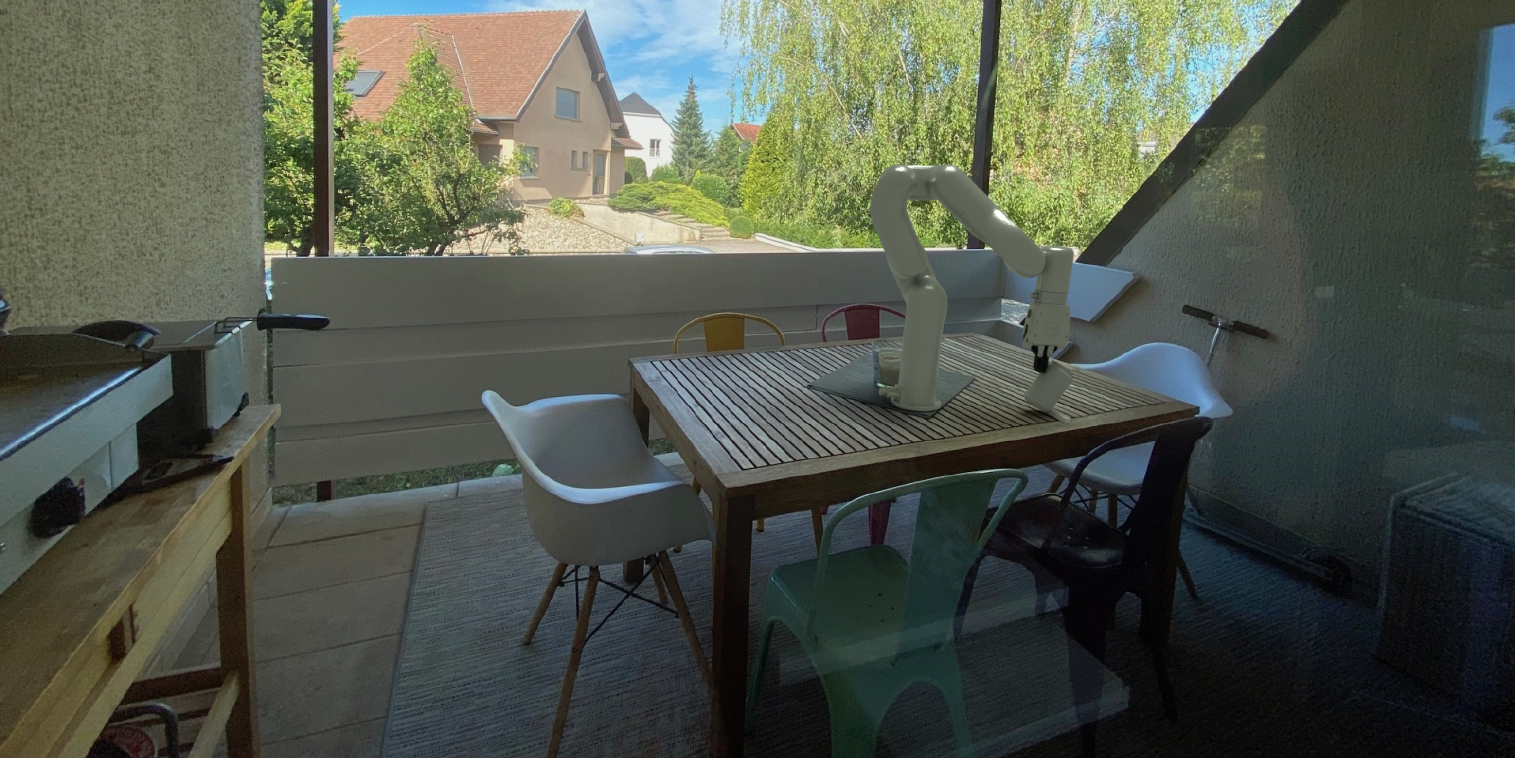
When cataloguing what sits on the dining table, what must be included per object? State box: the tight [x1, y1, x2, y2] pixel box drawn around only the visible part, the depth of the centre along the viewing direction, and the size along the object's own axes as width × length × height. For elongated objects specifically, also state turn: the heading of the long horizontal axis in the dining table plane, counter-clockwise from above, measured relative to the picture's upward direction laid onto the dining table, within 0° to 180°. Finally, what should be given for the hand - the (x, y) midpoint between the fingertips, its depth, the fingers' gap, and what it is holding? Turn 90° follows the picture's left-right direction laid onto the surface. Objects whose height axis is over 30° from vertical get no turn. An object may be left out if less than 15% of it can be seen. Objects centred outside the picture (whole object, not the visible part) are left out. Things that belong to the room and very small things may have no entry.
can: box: [1023, 360, 1075, 413], centre depth 192 cm, size 8×8×12 cm
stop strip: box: [1046, 407, 1072, 425], centre depth 195 cm, size 2×18×1 cm, turn 8°
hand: (1039, 371), depth 191 cm, fingers closed
